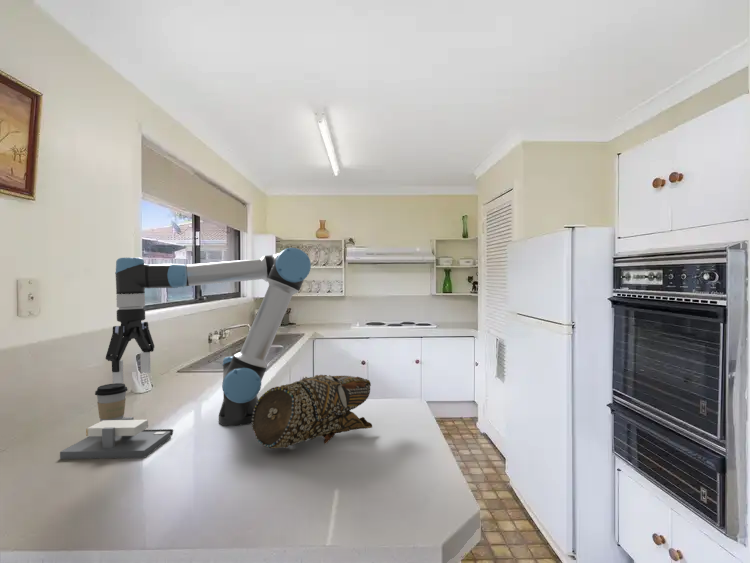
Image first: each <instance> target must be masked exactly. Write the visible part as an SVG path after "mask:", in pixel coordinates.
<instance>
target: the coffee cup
mask: <svg viewBox="0 0 750 563" xmlns="http://www.w3.org/2000/svg"><path fill="white" fill-rule="evenodd" d="M128 391H129V390H128V387H127V386H126V384H125V383H124V382H123V383H107V384H104V385H100V386H97V389H96V390H95V391H94V395H95V396H96V398H97V408H98V416H99V422H101V421H103V420H122V418H124V417H125V410H126V399H127V398H126V393H127V392H128Z"/></svg>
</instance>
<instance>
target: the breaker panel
mask: <svg viewBox="0 0 750 563" xmlns="http://www.w3.org/2000/svg"><path fill="white" fill-rule="evenodd" d="M134 418H135V417H134V416H123V418H122V420H135V419H134ZM171 436H172V435H171V431H163V432H140V433H138V434H137V435H135V436H115V427H110V428H103V429H102V436H86V437H85V438H83V439H81V440H79V441H77V442H76V443H74V444H72V445H70V446H69V447H67V448H65V449H63V450H61V451H60V452H59V459H60V460H69V459H70V460H71V459H73V460H75V459H77V460H78V459H80V460H81V459H128V458H129V459H130V458H132V459H133V458H138V459H139V458H142V459H143V458H146V457H147V456H149V455H150V454H151V453H153V452H154V451H155V450H156V449H158V448H159V447H161V446H162V445H163V444H164V443H166V442H167V441H168V440H169V439H171Z"/></svg>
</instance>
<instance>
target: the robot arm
mask: <svg viewBox="0 0 750 563" xmlns="http://www.w3.org/2000/svg"><path fill="white" fill-rule="evenodd" d="M311 267H312V264H311V260H310V258H309V255H308V254H307V253H306V252H305V251H304V250H302V249H301V248H297V247H287V248H284V249H283V250H281V251H280V252H278V253H277V252H276V253H274V254H271V255H263V256H262V257H260V258H256V259H254V258H253V259H243V260H242V259H241V260H231V261H230V260H229V261H219V262H207V263H206V262H205V263H193V264H192V263H191V264H181V263H158V264H157V263H155V264H153V263H152V264H150V263H149V264H148V263H145V260H144V258H142V257H119V258H118V259H117V260H116V262H115V288H116V290H115V291H116V293H115V294H116V299H115V300H116V308H118V309H117V310H116V322H118V323H120V325H114V326H113V327H112V334H111V336H110V337H111V338H110V341H109V345H108V348H107V351H106V355H105V360H106V361H108V362H111V372H112V375H111V376H112V384H114V383H123V384H124V360H123V359H122V357H123V355H124V353H125V351H126V349H127V346H128V345H129V342H130V341H132V340H134V339H135V342H136V343H137V345H138V347H139V348H140V350H141V352H140V374H143V373H144V374H149V373H151V352H154V351H155V344H154V341H153V338H152V335H151V332H150V327H149V322H148V321H145V320H146V309H145V308H144V307H146V296H145V295H146V294H145V292H146V291H145V289H178V288H184V287H192V286H205V285H213V284H214V285H215V284H224V283H225V284H226V283H227V284H228V283H235V282H247V281H258V280H264V282H268V287H267V290H266V292H265V294H264V297H263V299H262V301H261V304H260V306H259V308H258V310H257V312H256V314H255V317H254V320H253V322H252V324H251V326H250V328H249V331H248V333H247V336H246V338H245V341H244V342H243V345H242V347H241V349H240V351H239V352H236V353H234V354H233V355H231V356H225V357H224V358H223V359H222V384H221V385H222V386H221V387H222V393H223V394H222V395H223V401H222V403H221V407H220V408H219V412H218V423H219V424H220V425H223V426H226V427H227V426H231V427H235V426H236V427H237V426H245V425H252V419H253V417H252V416H253V412H254V411H253V409H254V408H255V405H256V403H257V402H258V400H259V398H258V395H259V393H260V391H261V389H262V380H263V378H264V375H265V374H266V370H267V368H268V365H267V362H266V359H267V356H268V355H269V353H270V351H271V350H270V349H271V347H272V345H273V343H274V340H275V338H276V336H277V333H278V331H279V328H280V326H281V323H282V321H283V319H284V316H285V315H286V312H287V309H288V307H289V305H290V303H291V301H292V300H291V299H292V297H293V295H295V294H297V293H299V292H300V291H301V288H302V286H303V283H304V281H305V279H307V277H308V276H309V274H310V272H311Z"/></svg>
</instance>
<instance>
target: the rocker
mask: <svg viewBox="0 0 750 563" xmlns="http://www.w3.org/2000/svg"><path fill="white" fill-rule="evenodd" d="M110 427H115V436H135V435H137V434H138V433H140V432H141V431H143V430H147V428H149V419H134V420H103V421H101V422H100V421H99V422H97V423H95V424H93V425H91V426H89V427H87V428H86V429H85V430H86V432H85V435H86V437H89V436H102V429H103V428H110Z"/></svg>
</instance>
